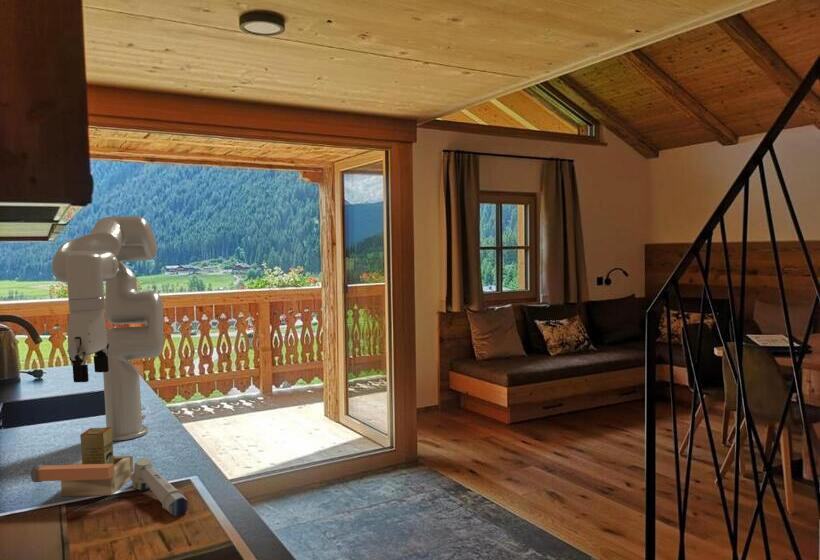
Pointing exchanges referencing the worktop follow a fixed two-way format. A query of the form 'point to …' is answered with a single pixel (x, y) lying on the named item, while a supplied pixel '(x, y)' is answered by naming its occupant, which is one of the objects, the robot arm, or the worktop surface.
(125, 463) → the socket
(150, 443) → the worktop surface
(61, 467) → the bar
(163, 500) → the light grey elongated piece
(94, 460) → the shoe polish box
